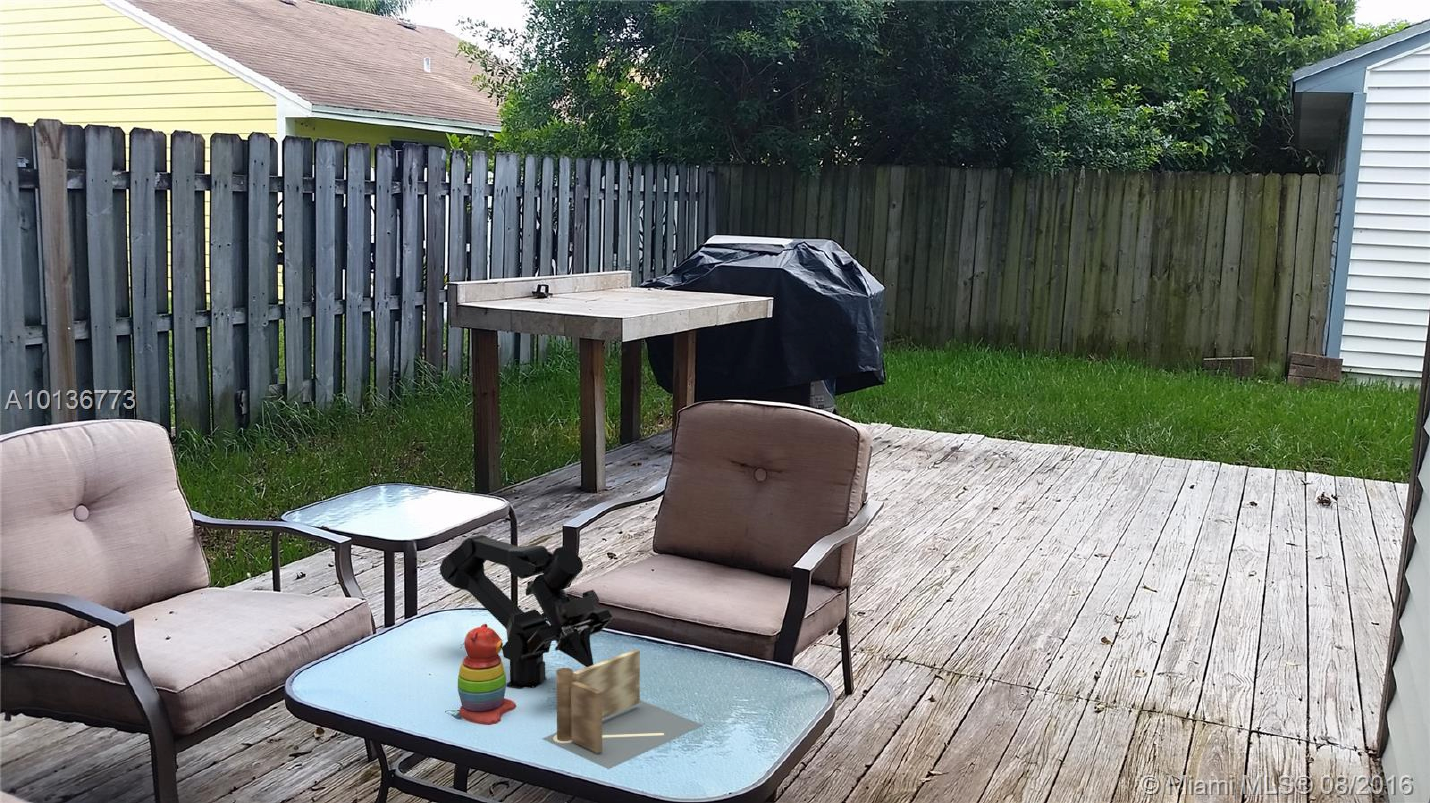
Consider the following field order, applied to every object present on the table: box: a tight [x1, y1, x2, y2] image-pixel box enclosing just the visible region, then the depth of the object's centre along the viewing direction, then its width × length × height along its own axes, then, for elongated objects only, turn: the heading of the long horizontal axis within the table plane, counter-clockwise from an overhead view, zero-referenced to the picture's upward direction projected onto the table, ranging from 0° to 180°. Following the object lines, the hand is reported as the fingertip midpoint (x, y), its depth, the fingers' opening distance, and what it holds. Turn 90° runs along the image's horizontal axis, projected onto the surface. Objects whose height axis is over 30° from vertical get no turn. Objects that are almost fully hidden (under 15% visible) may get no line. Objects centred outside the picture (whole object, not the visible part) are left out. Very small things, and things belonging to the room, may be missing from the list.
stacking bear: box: [457, 623, 517, 726], centre depth 228 cm, size 11×10×18 cm
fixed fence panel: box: [555, 667, 602, 753], centre depth 214 cm, size 11×3×13 cm, turn 48°
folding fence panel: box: [573, 649, 641, 718], centre depth 225 cm, size 16×1×11 cm, turn 138°
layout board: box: [542, 700, 704, 770], centre depth 221 cm, size 18×25×1 cm
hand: (591, 666), depth 231 cm, fingers closed
